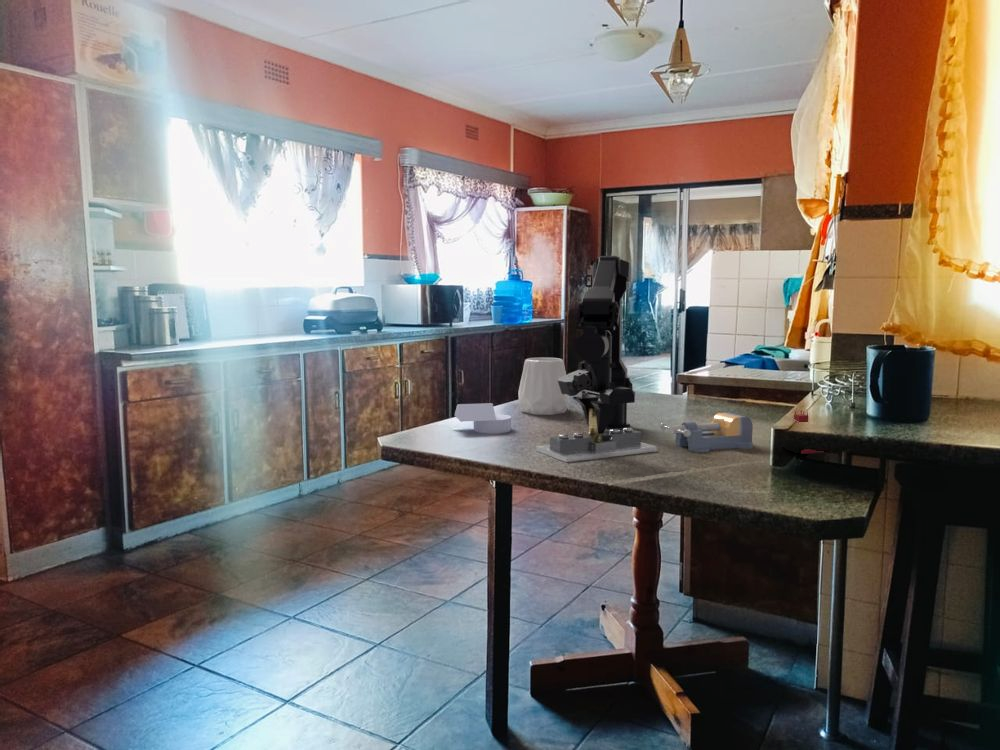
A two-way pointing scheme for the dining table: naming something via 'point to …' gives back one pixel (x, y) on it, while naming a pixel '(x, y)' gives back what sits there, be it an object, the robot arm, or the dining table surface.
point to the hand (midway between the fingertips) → (596, 432)
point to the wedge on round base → (483, 418)
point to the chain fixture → (595, 445)
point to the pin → (594, 426)
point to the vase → (542, 387)
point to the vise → (714, 433)
